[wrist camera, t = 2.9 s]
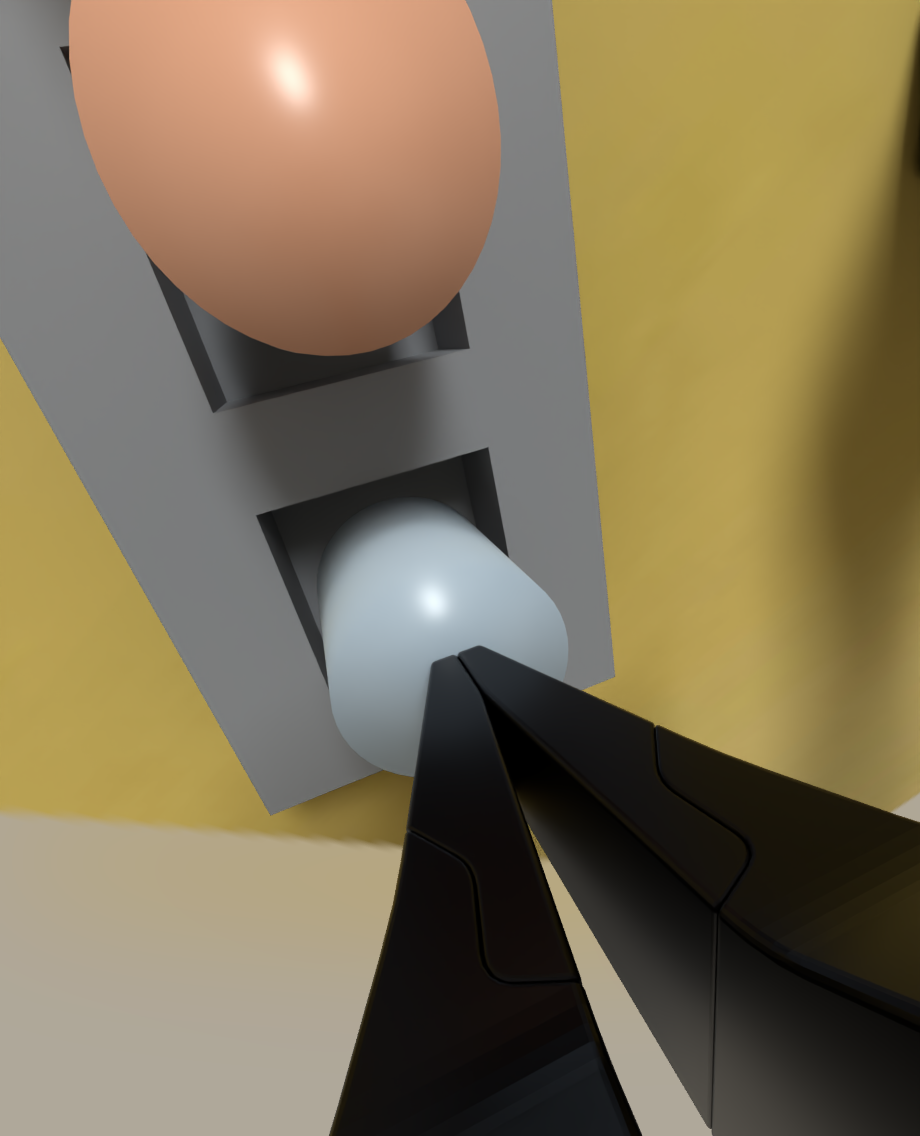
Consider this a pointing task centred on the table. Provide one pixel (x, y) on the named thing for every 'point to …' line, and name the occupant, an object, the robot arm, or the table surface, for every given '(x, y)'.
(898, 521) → the table surface
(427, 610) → the slate button
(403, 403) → the grey socket tray
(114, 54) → the peach rounded piece
